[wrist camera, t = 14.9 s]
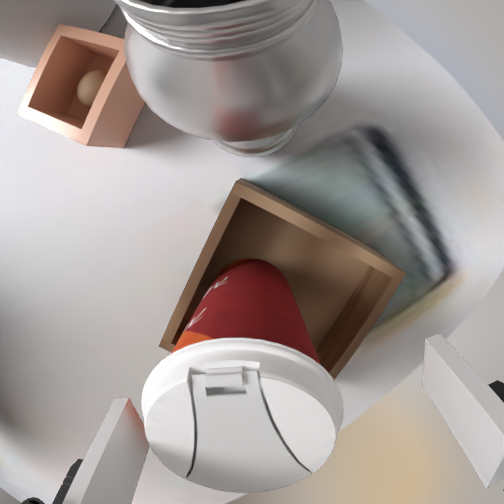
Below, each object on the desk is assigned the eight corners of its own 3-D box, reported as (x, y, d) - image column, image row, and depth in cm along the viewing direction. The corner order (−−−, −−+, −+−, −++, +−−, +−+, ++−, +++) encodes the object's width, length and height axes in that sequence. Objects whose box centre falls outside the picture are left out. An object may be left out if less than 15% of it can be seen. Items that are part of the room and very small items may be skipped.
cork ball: (83, 104, 21) (63, 99, 18) (99, 70, 21) (81, 61, 18) (110, 115, 22) (93, 110, 19) (127, 80, 21) (111, 71, 18)
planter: (60, 120, 22) (17, 114, 16) (95, 46, 21) (59, 23, 15) (123, 148, 23) (86, 145, 17) (163, 67, 21) (136, 42, 15)
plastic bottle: (261, 176, 23) (269, 229, 4) (187, 124, 22) (-26, 33, 3) (313, 107, 22) (476, -45, 3) (238, 57, 21) (184, -165, 2)
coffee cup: (188, 249, 24) (100, 363, 10) (299, 236, 24) (355, 345, 9) (208, 346, 26) (168, 498, 12) (307, 336, 26) (343, 490, 11)
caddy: (175, 315, 26) (158, 346, 22) (240, 178, 23) (235, 181, 19) (304, 372, 28) (310, 408, 23) (380, 253, 25) (406, 273, 20)
